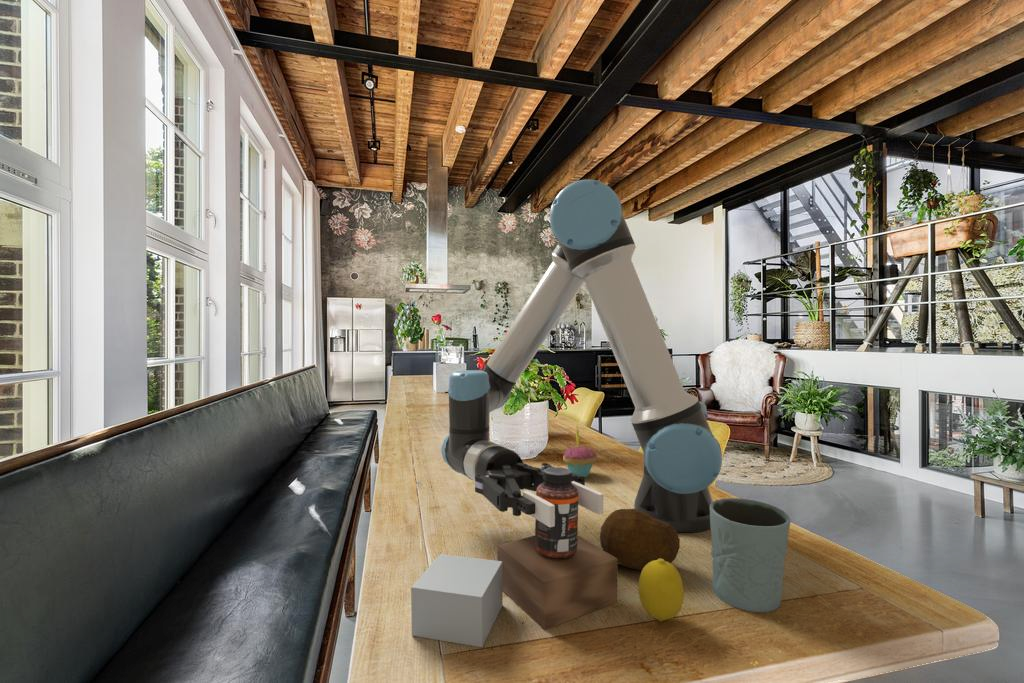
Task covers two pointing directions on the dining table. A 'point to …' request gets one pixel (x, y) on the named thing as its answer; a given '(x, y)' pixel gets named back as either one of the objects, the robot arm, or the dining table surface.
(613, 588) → the walnut block
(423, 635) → the grey block
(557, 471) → the supplement bottle
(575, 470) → the cupcake
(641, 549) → the potato
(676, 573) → the lemon
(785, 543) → the grey green planter pot
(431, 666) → the dining table surface
